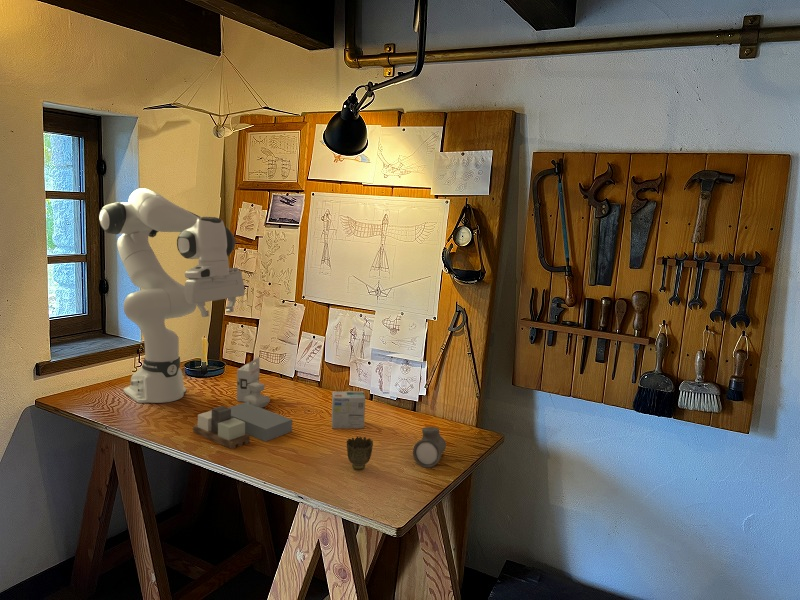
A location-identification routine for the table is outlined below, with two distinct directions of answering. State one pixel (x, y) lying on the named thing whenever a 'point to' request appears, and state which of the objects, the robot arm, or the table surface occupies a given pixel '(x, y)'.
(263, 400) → the stamp
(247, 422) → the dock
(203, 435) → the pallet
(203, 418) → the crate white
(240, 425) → the crate sage
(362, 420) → the light bulb box
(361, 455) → the cup
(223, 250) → the robot arm
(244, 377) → the ink box
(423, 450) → the pipe fitting
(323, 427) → the table surface
